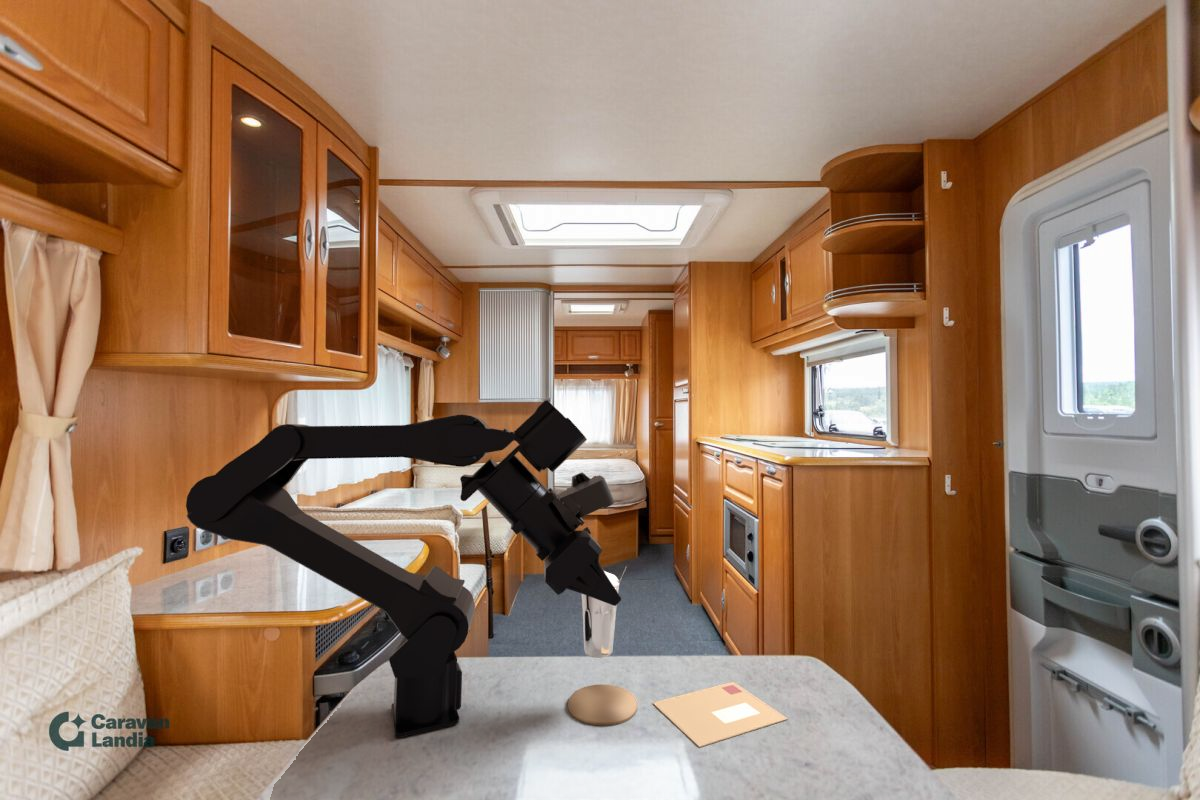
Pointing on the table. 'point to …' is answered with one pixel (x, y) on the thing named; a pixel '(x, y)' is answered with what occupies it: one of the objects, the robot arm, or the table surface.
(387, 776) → the table surface
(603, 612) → the milkshake
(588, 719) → the coaster
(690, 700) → the envelope
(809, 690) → the table surface
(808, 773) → the table surface
